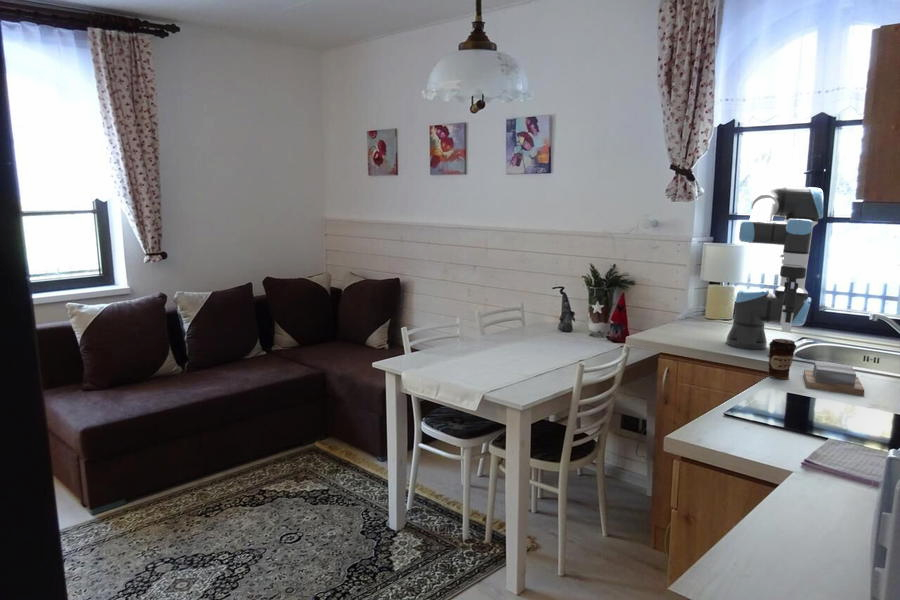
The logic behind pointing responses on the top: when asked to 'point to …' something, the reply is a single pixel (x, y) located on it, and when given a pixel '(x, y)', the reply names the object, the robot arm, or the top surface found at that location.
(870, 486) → the top surface
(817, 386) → the stepped plinth
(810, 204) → the robot arm
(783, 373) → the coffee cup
